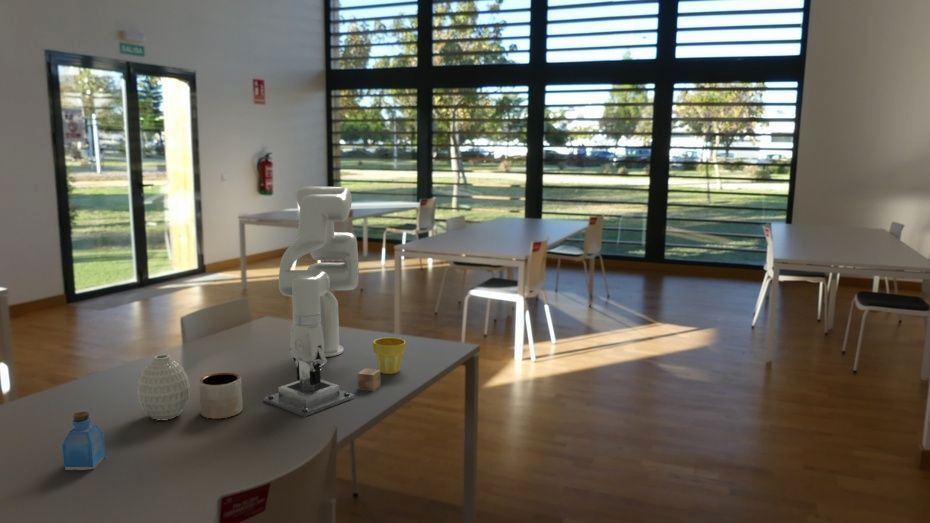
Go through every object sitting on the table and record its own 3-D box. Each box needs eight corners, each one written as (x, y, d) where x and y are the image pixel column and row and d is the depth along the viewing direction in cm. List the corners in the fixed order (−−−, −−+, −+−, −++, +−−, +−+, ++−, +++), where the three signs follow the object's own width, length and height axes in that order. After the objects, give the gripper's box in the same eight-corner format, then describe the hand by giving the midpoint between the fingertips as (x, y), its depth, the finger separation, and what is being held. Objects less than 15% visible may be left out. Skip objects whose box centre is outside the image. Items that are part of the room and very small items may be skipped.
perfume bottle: (77, 458, 160) (73, 409, 158) (105, 457, 161) (101, 408, 159) (64, 471, 154) (59, 420, 152) (93, 470, 155) (89, 419, 153)
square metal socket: (263, 401, 196) (262, 387, 196) (313, 384, 211) (312, 371, 210) (304, 416, 186) (304, 402, 185) (354, 397, 200) (354, 384, 199)
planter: (251, 408, 192) (249, 374, 190) (225, 422, 182) (223, 387, 180) (218, 402, 195) (216, 370, 193) (191, 417, 185) (189, 382, 183)
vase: (166, 429, 177) (162, 366, 174) (128, 421, 181) (123, 360, 179) (202, 411, 189) (198, 352, 186) (164, 404, 193) (160, 346, 190)
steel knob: (294, 388, 197) (292, 354, 195) (310, 383, 201) (309, 350, 200) (307, 393, 193) (306, 358, 192) (323, 387, 198) (322, 354, 196)
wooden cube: (358, 389, 207) (357, 373, 206) (365, 383, 212) (365, 368, 211) (373, 391, 205) (373, 375, 205) (380, 385, 210) (380, 369, 209)
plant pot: (408, 366, 228) (408, 337, 227) (402, 376, 218) (402, 346, 217) (377, 364, 229) (377, 336, 228) (370, 375, 219) (369, 345, 218)
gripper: (276, 317, 196) (279, 378, 199) (316, 327, 186) (318, 392, 189) (297, 312, 202) (299, 372, 205) (337, 321, 192) (339, 384, 195)
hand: (308, 380), depth 197 cm, fingers closed on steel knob, 5 cm apart
